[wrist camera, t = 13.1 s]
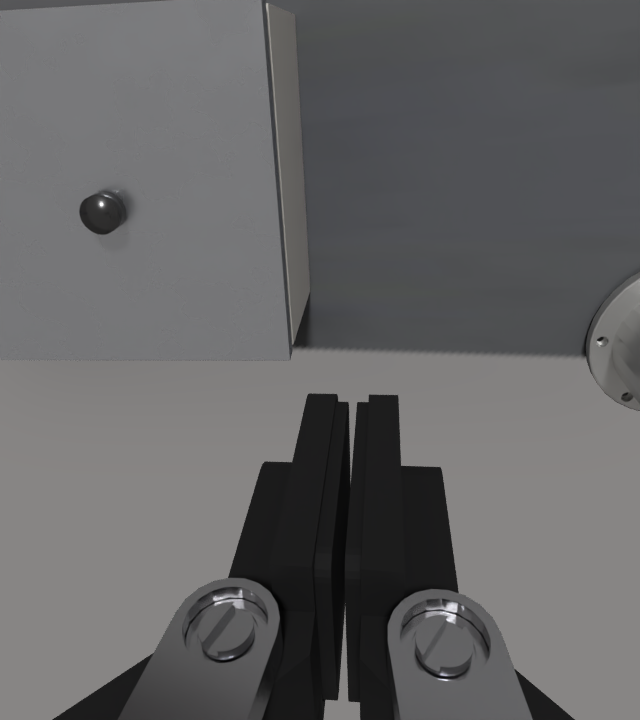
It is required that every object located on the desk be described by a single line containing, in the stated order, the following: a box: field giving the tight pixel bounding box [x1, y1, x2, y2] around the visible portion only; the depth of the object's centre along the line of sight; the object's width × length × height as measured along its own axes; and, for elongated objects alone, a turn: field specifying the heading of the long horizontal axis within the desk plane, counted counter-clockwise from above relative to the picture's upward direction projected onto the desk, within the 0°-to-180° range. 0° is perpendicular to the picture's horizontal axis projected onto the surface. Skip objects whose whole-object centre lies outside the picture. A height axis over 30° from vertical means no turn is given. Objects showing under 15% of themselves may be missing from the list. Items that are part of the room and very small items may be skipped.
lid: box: [0, 0, 292, 360], centre depth 30 cm, size 21×18×2 cm
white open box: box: [266, 3, 310, 344], centre depth 35 cm, size 18×18×9 cm
